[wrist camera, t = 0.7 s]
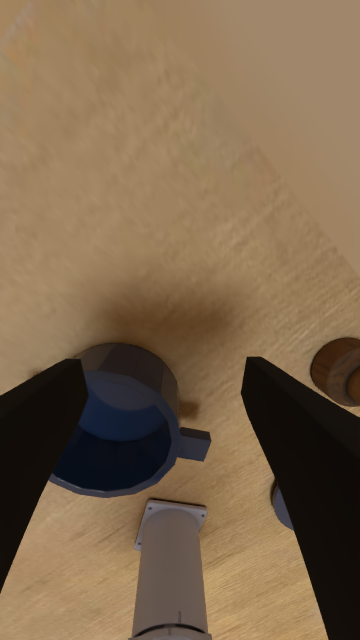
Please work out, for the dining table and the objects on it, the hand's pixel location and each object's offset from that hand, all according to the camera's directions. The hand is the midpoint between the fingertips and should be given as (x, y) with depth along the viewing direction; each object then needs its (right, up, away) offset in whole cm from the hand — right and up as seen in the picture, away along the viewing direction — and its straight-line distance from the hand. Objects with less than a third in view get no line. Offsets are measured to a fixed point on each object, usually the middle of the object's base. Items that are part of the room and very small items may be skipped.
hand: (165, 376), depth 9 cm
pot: (-6, -6, +12) cm, 15 cm away
